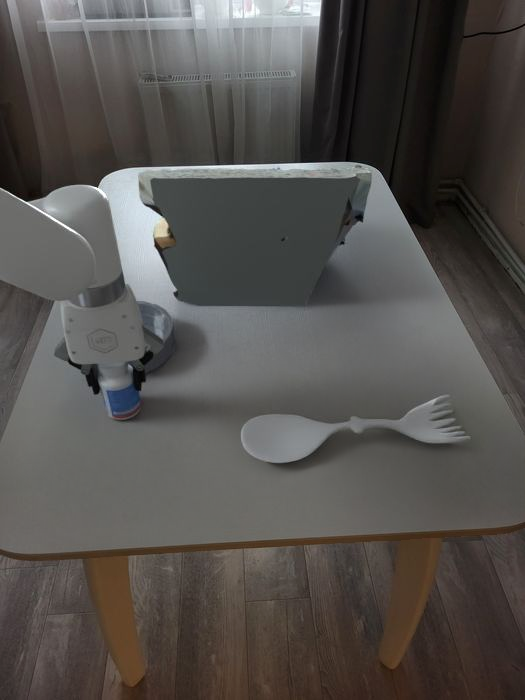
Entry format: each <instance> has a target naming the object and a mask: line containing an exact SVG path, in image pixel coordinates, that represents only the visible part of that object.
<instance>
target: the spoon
mask: <svg viewBox="0 0 525 700" xmlns="http://www.w3.org/2000/svg"><path fill="white" fill-rule="evenodd" d="M450 398H451V395H450V394H443V395H441V396H439V397H436V398H433V399H431V400H429V401H426V402H425V403H422V404H420V405H417V406H415V407H414V408H412V409H411V410H409V411H408V412H407V413H406V414H405V415H404V416H403V417H402V418H400V419H387V418H360V417H359V416H356V415H353V416H350V418H349V420H348V421H343V422H336V423H326V422H322V421H319V420H315V419H311V418H307V417H305V416H301V415H296V414H282V413H272V414H271V413H268V414H262V415H258V416H255V417H253V418H250V419H249V420H247V421H246V422H245V423H244V424H243V426H242V428H241V432H240V441H241V445H242V447H243V449H244V450H245V451H246V453H248V454H249V455H250V456H252V457H253V458H256V459H258V460H260V461H264V462H267V463H273V464H284V463H290V462H295V461H299V460H302V459H303V458H306V457H307V456H309V455H311V454H312V453H314V452H315V451H316V450H317V449H318V448H319V447H320V446H321V445H322V444H323V443H324V442H325V441H326V440H327V439H328V438H329V437H330V436H331V435H334V434H335V433H337V432H340V431H344V430H351V431H353V433H355V434H361V433H363V432H364V430H366V429H374V428H384V429H390V430H393V431H395V432H398V433H400V434H402V435H405V436H406V437H409V438H411V439H413V440H415V441H418V442H421V443H425V444H459V443H465V442H468V441H470V440H471V439H472V437H471V436H468V435H466V436H462V435H464V434H466V431H461V430H460V429H461V428H462V426H461V425H457V426H456V425H455V426H450V427H446V426H449V425H451V424H453V423H454V422H456V421H457V418H455V417H452V418H444V419H443V417H445V416H448V415H450V414H451V413H453V412H454V410H453V409H448V410H444V409H446V408H448V407H450V406H452V403H450V402H447V403H443V402H445V401H448V400H449V399H450ZM441 418H442V419H441ZM457 430H459V431H457Z"/></svg>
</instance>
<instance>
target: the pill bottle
mask: <svg viewBox="0 0 525 700" xmlns="http://www.w3.org/2000/svg"><path fill="white" fill-rule="evenodd" d="M98 364H99V369H100V372H99V373H98V377H97V378H98V384H99V387H100V395H101V398H102V402H103V406H104V409H105V412H106V414H107V416H109V418H111V419H113V420H117V421H125V420H129V419H132V418H133V417H135V416H136V415H138V414H139V412H140V411H141V408H142V400H141V396H140V391H137V390H136V387H135V382H134V378H133V368H132V367H131V366H130V365H129V364H128V362H127V361H124V362H111V363H98Z"/></svg>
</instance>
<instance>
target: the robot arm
mask: <svg viewBox="0 0 525 700" xmlns="http://www.w3.org/2000/svg"><path fill="white" fill-rule="evenodd" d="M0 281H3V282H5V283H7V284H10V285H12V286H14V287H17V288H19V289H22V290H24V291H26V292H28V293H32V294H34V295H36V296H38V297H41V298H43V299H45V300H49V301H53V302H54V301H55V302H60V304H59V305H60V317H61V324H62V330H63V335H64V336H63V338H62V339H61V340H60V342H59V343H58V344H57V345H56V346H55V348H54V352H53V355H54V357H55V358H57V359H60V360H61V361H63V362H67V363H68V365H70V366H72V367H74V368H76V369H77V370H79V371H80V374H81V375H83V376H85V379H86V383H87V386H88V388H90V387H91V389H92V392H93V393H92V394H93V395H95V396H97V395H99V394H100V393H101V391H100V387H99V384H98V378H97V377H98V373H99V370H98V366H97V364H98V363H111V362H124V361H130V362H131V363H132V364H133V378H134V382H135V387H136V390H137V391H139V392H142V386H143V384H144V383H146V382H147V375H146V373H145V369H144V366H145V365H146V364H147V363H148V362H149V361H150V360H151V359H152V358H153V356H154V355H155V354H157V353H158V352H160V351H161V350H162V349H163V348H164V341H163V340H162V339H161V338H159V337H158V336H157V335H155V334H154V333H152V332H151V331H149V330H148V329H147V328H145V327H144V324H143V320H142V317H141V313H140V310H139V307H138V304H137V301H138V300H137V299H136V296H135V293H134V291H133V290H132V288H131V285H130V284H128V283H126V281H125V277H124V271H123V266H122V260H121V256H120V250H119V244H118V240H117V235H116V229H115V225H114V219H113V213H112V208H111V205H110V201H109V198H108V196H107V195H106V194H105V193H104V192H103V191H102V190H101V189H100V188H98V187H95V186H92V185H88V184H74V185H66V186H63V187H60V188H57V189H55V190H52V191H51V192H50V193H49V194H47V195H46V196H44V197H42V198H38V199H34V200H29V201H25V200H23V199H21V198H19V197H17V196H16V195H14V194H12V193H10V192H9V191H7V190H5V189H3V188H1V187H0ZM145 342H146V343H147V344H149V345H150V346H147V347H145Z"/></svg>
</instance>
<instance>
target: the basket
mask: <svg viewBox="0 0 525 700" xmlns="http://www.w3.org/2000/svg"><path fill="white" fill-rule="evenodd" d="M372 174H373V173H372V168H370V167H363V166H362V165H359V164H357V165H355V166H354V167H347V168H332V167H331V168H322V169H320V168H317V169H304V168H289V169H288V168H287V169H283V168H280V167H279V166H278V167H277V168H244V167H243V168H233V167H231V168H230V167H223V168H221V167H214V168H212V167H211V168H209V167H207V168H203V167H202V168H201V167H200V168H191V167H190V168H186V167H185V168H162V169H144V170H141V171H139V172H138V174H137V179H138V195H139V199H140V201H141V204H143V205H144V207H146V208H149V209H151V210H152V211H153V212H155V213H156V214H158V215H159V216H160V217H161V218H160V219H158V221H157V222H156V224H155V225H154V228H153V231H152V232H153V234H152V237H153V243H154V244H153V247H154V249H155V250H157V253H158V255H159V257H160V259H161V261H162V263H163V265H164V267H165V270H166V273H167V274H168V277H169V279H170V281H171V284H172V285H173V286H174V288H175V289H176V290H175V291H173V292H172V294H173V296H174V298H175V299H176V300H177V301H178V302H182V303H188V304H190V305H195V306H201V307H203V306H205V307H208V306H211V307H213V306H214V307H215V306H218V307H222V306H223V307H224V306H226V307H306V306H307V303H308V301H309V299H310V297H311V295H312V292H313V290H314V289H315V286H316V285H317V283H318V280H319V279H320V276H321V274H322V272H323V271H324V268H325V266H326V264H327V262H328V261H329V260H330V259H331V257H332V256H333V254H334V253H335V252H336V250H337V249H338V248H339V246H342V245H343V246H344V245H345V244H346V242H345V241H346V239H345V238H346V236H347V235H348V233H349V232H350V231H351V229H352V228H353V227H354V226H355V225H356V224H357V223H358V222H360V223H362V224H363V223H364V218H365V211H366V207H367V203H368V197H369V194H370V192H371V191H370V190H371V187H372V182H373V181H372V180H373V179H372V178H373V175H372Z"/></svg>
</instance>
